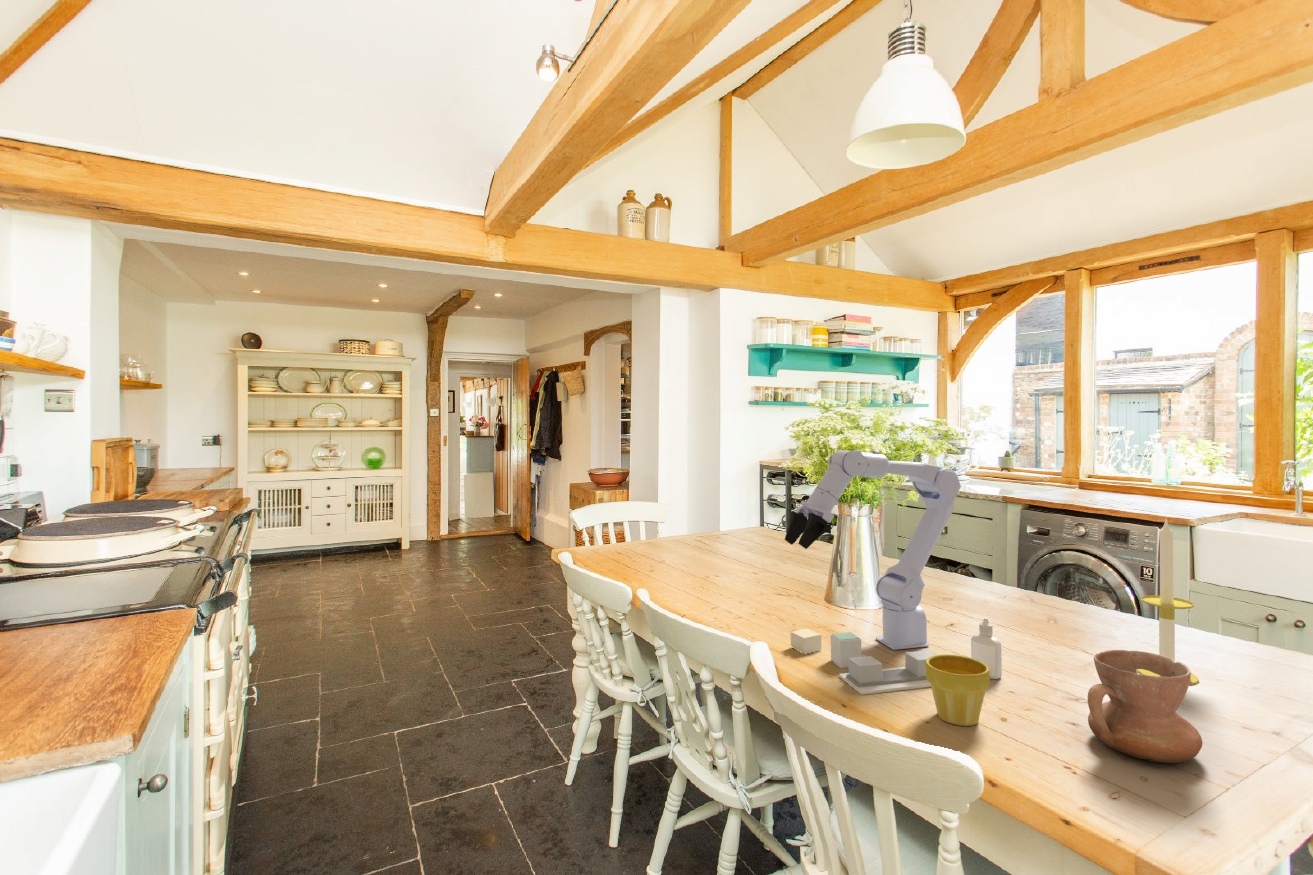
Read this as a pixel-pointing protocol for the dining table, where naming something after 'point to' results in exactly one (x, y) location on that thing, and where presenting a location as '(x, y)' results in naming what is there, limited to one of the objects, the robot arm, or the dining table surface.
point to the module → (844, 648)
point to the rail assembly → (887, 674)
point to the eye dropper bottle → (987, 649)
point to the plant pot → (958, 687)
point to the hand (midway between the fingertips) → (795, 544)
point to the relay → (806, 640)
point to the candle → (1166, 601)
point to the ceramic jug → (1142, 706)
